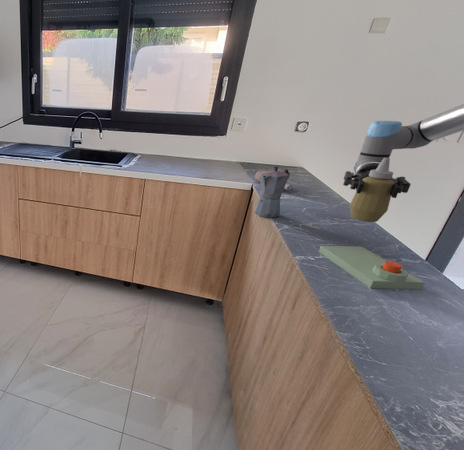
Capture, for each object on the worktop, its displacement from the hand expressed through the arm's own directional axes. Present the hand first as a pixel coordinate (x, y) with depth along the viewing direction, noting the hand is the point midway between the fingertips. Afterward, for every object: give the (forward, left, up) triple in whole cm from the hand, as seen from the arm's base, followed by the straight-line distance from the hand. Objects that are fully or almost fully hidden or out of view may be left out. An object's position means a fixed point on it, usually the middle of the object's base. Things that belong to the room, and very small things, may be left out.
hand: (377, 190), depth 84 cm
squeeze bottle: (-3, -4, -10) cm, 11 cm away
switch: (0, +12, -18) cm, 22 cm away
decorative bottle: (-17, -79, -22) cm, 84 cm away
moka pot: (+5, -39, -22) cm, 45 cm away
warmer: (0, +5, -22) cm, 22 cm away
